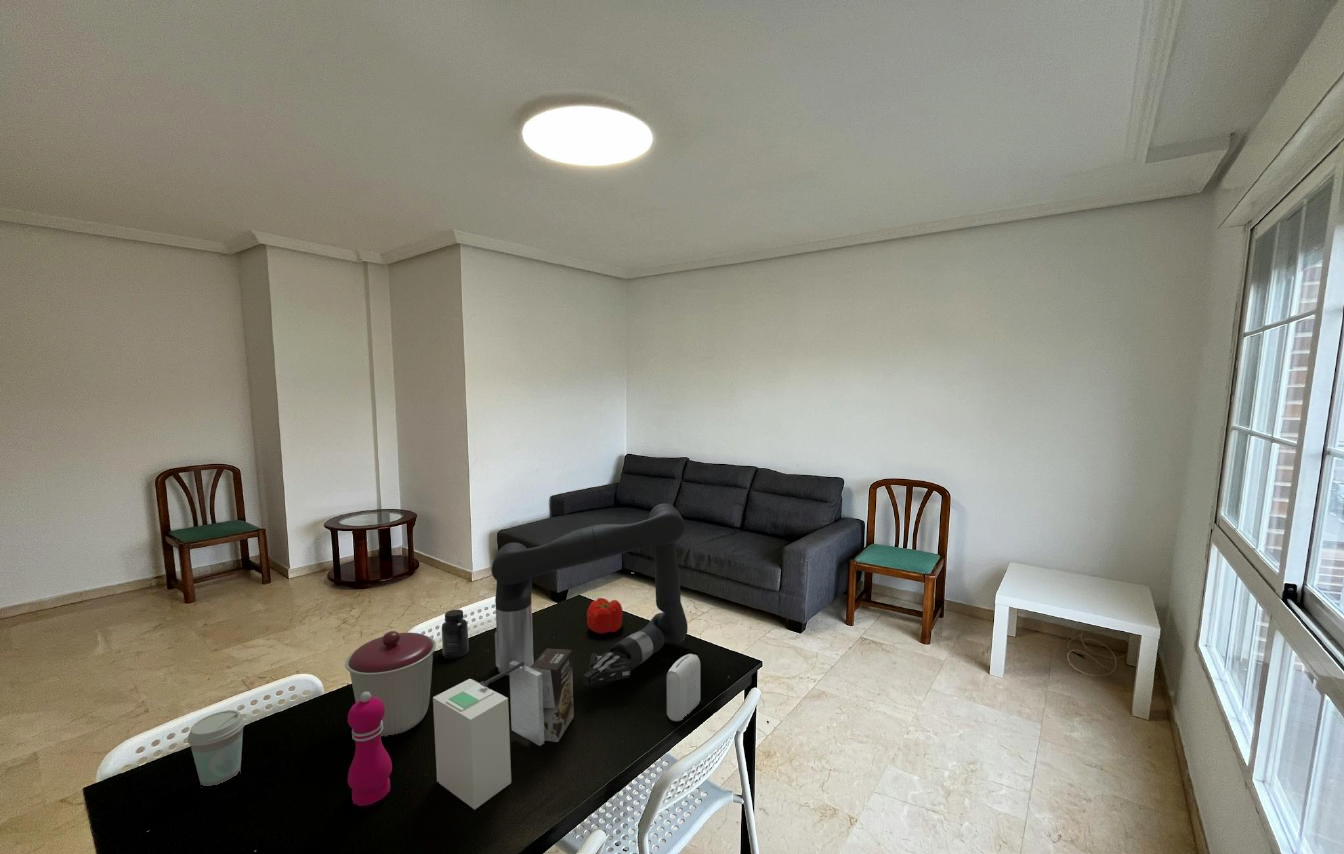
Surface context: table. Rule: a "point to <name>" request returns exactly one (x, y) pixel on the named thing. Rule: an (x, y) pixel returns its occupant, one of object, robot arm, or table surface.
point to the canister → (395, 677)
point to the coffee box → (556, 691)
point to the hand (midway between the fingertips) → (585, 680)
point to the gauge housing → (472, 742)
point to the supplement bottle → (455, 635)
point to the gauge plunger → (525, 701)
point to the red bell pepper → (604, 616)
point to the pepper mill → (368, 752)
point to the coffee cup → (217, 746)
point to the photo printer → (683, 687)
